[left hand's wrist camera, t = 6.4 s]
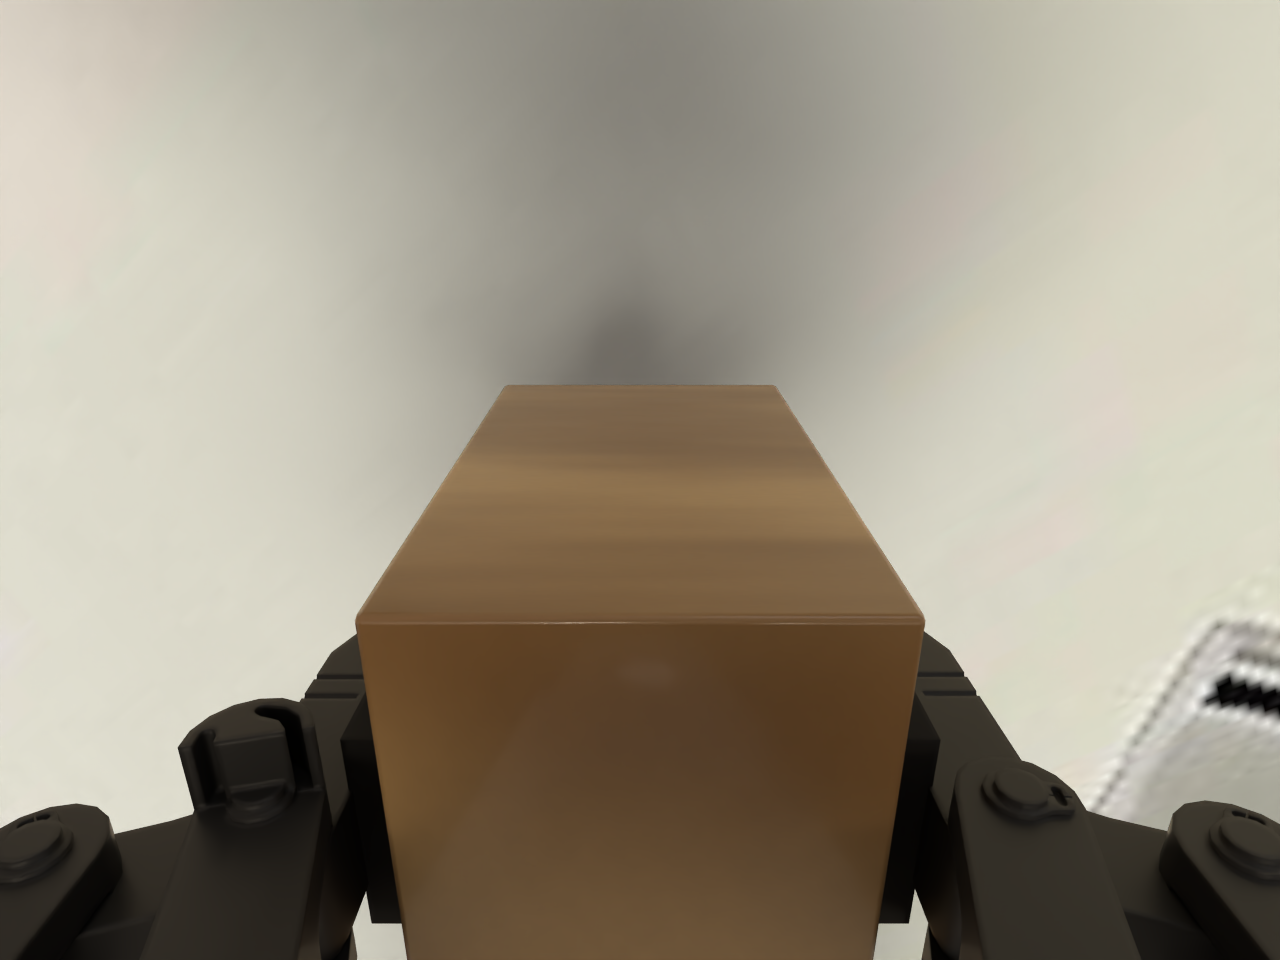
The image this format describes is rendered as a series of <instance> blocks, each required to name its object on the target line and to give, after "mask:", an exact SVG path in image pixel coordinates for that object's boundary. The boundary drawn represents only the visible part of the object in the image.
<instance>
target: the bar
mask: <svg viewBox="0 0 1280 960" xmlns="http://www.w3.org/2000/svg"><path fill="white" fill-rule="evenodd" d="M355 624H356V631H357V637H358V644H359V650H360V657H361V663H362V670H363V676H364V683H365V689H366V695H367V702H368V708H369V715H370V721H371V728H372V734H373V741H374V747H375V754H376V760H377V767H378V773H379V780H380V786H381V793H382V799H383V806H384V812H385V818H386V825H387V831H388V838H389V844H390V851H391V857H392V864H393V870H394V877H395V883H396V890H397V896H398V903H399V909H400V916H401V922H402V929H403V935H404V942H405V948H406V954H407V960H873V956H874V950H875V944H876V937H877V931H878V924H879V918H880V911H881V905H882V898H883V892H884V885H885V879H886V872H887V866H888V860H889V853H890V847H891V840H892V834H893V827H894V821H895V814H896V808H897V801H898V795H899V788H900V782H901V776H902V769H903V763H904V756H905V750H906V743H907V737H908V730H909V724H910V717H911V711H912V704H913V698H914V691H915V685H916V679H917V672H918V666H919V659H920V653H921V646H922V640H923V633H924V627H925V618H924V615H923V613H922V612H921V610H920V609H919V607H918V606H917V604H916V602H915V601H914V599H913V598H912V596H911V595H910V593H909V592H908V590H907V589H906V587H905V585H904V584H903V582H902V581H901V579H900V578H899V576H898V575H897V573H896V572H895V570H894V568H893V567H892V565H891V564H890V562H889V561H888V559H887V558H886V556H885V555H884V553H883V551H882V550H881V548H880V547H879V545H878V544H877V542H876V541H875V539H874V538H873V536H872V534H871V533H870V531H869V530H868V528H867V527H866V525H865V524H864V522H863V521H862V519H861V517H860V516H859V514H858V513H857V511H856V510H855V508H854V507H853V505H852V504H851V502H850V500H849V499H848V497H847V496H846V494H845V493H844V491H843V490H842V488H841V486H840V485H839V483H838V482H837V480H836V479H835V477H834V476H833V474H832V473H831V471H830V469H829V468H828V466H827V465H826V463H825V462H824V460H823V459H822V457H821V456H820V454H819V452H818V451H817V449H816V448H815V446H814V445H813V443H812V442H811V440H810V439H809V437H808V435H807V434H806V432H805V431H804V429H803V428H802V426H801V425H800V423H799V422H798V420H797V418H796V417H795V415H794V414H793V412H792V411H791V409H790V408H789V406H788V405H787V403H786V401H785V400H784V398H783V397H782V395H781V394H780V392H779V391H778V389H777V388H776V386H773V385H507V386H505V387H504V389H503V390H502V392H501V393H500V395H499V396H498V398H497V400H496V401H495V403H494V404H493V406H492V407H491V409H490V410H489V412H488V413H487V415H486V416H485V418H484V420H483V421H482V423H481V424H480V426H479V427H478V429H477V430H476V432H475V433H474V435H473V437H472V438H471V440H470V441H469V443H468V444H467V446H466V447H465V449H464V450H463V452H462V453H461V455H460V457H459V458H458V460H457V461H456V463H455V464H454V466H453V467H452V469H451V470H450V472H449V473H448V475H447V477H446V478H445V480H444V481H443V483H442V484H441V486H440V487H439V489H438V490H437V492H436V493H435V495H434V497H433V498H432V500H431V501H430V503H429V504H428V506H427V507H426V509H425V510H424V512H423V514H422V515H421V517H420V518H419V520H418V521H417V523H416V524H415V526H414V527H413V529H412V530H411V532H410V534H409V535H408V537H407V538H406V540H405V541H404V543H403V544H402V546H401V547H400V549H399V550H398V552H397V554H396V555H395V557H394V558H393V560H392V561H391V563H390V564H389V566H388V567H387V569H386V571H385V572H384V574H383V575H382V577H381V578H380V580H379V581H378V583H377V584H376V586H375V587H374V589H373V591H372V592H371V594H370V595H369V597H368V598H367V600H366V601H365V603H364V604H363V606H362V607H361V609H360V611H359V612H358V614H357V616H356V619H355Z"/></svg>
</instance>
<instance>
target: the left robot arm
mask: <svg viewBox="0 0 1280 960" xmlns="http://www.w3.org/2000/svg"><path fill="white" fill-rule="evenodd" d="M178 751H179V755H180V758H181V762H182V766H183V769H184V773H185V777H186V781H187V784H188V788H189V792H190V795H191V799H192V803H193V807H194V812H193V814H192V815H189V816H186V817H182V818H179V819H176V820H173V821H169V822H164V823H160V824H156V825H152V826H147V827H143V828H139V829H134V830H130V831H126V832H122V833H117V834H114V832H113V829H112V826H111V822H110V819H109V817H108V816H107V815H106V814H105V813H104V812H102V811H101V810H100V809H99V808H98V807H95V806H88V805H82V804H70V805H63V806H55V807H49V808H46V809H43V810H41V811H38V812H35V813H32V814H29V815H26V816H23V817H20V818H18V819H17V820H15V821H13V822H11V823H9V824H8V825H6V826H4V827H2V828H0V960H357V951H356V945H355V938H354V933H353V927H352V926H353V924H354V921H355V918H356V916H357V913H358V911H359V908H360V905H361V903H362V900H363V898H364V895H365V892H366V893H367V899H368V905H369V910H370V916H371V922H372V923H402V922H401V916H400V909H399V903H398V896H397V890H396V883H395V877H394V870H393V864H392V857H391V851H390V844H389V838H388V831H387V825H386V818H385V812H384V806H383V799H382V793H381V786H380V780H379V773H378V767H377V760H376V754H375V747H374V741H373V734H372V728H371V721H370V715H369V708H368V702H367V695H366V689H365V683H364V676H363V670H362V663H361V657H360V650H359V644H358V637H357V634H356V635H354V636H353V637H352V638H350V639H349V640H348V641H346V642H345V643H344V644H342V645H341V646H340V647H338V648H337V649H336V650H334V651H333V652H332V653H331V654H330V656H329V657H328V659H327V660H326V662H325V663H324V665H323V666H322V668H321V670H320V671H319V673H318V674H317V679H314V680H313V682H312V683H311V685H310V686H309V688H308V690H307V691H306V693H305V698H304V699H301V700H300V702H296V701H292V700H288V699H284V698H270V699H257V700H253V701H249V702H245V703H241V704H237V705H233V706H231V707H229V708H227V709H224V710H222V711H220V712H218V713H216V714H214V715H211V716H209V717H208V718H207V719H205V720H204V721H203V722H201V723H200V724H199V725H197V726H196V727H195V728H193V729H192V730H191V731H190V732H189V733H188V734H187V736H186V737H185V738H184V740H183V741H182V742H181V744H180V745H179V747H178ZM914 890H916V892H917V895H918V898H919V900H920V903H921V905H922V908H923V911H924V913H925V916H926V918H927V921H928V927H927V933H926V938H925V944H924V949H923V954H922V960H1280V824H1278V823H1276V822H1275V821H1273V820H1271V819H1269V818H1267V817H1265V816H1264V815H1262V814H1259V813H1256V812H1253V811H1250V810H1247V809H1244V808H1242V807H1239V806H1236V805H1233V804H1227V803H1220V802H1212V801H1199V802H1193V803H1187V804H1184V805H1183V806H1182V807H1180V808H1179V809H1178V810H1177V811H1176V812H1175V813H1173V815H1172V818H1171V822H1170V825H1169V828H1168V831H1164V830H1160V829H1155V828H1151V827H1147V826H1142V825H1138V824H1134V823H1130V822H1125V821H1121V820H1117V819H1112V818H1108V817H1105V816H1102V815H1099V814H1095V813H1092V812H1089V811H1086V809H1085V807H1084V805H1083V804H1082V802H1081V801H1080V799H1079V798H1078V796H1077V794H1076V793H1075V791H1074V790H1072V789H1071V788H1070V787H1069V786H1068V785H1066V784H1065V783H1064V782H1063V781H1062V780H1061V779H1059V778H1058V777H1057V776H1056V775H1054V774H1052V773H1050V772H1048V771H1046V770H1044V769H1042V768H1040V767H1038V766H1036V765H1034V764H1032V763H1029V762H1025V761H1022V760H1021V759H1020V757H1019V756H1018V754H1017V753H1016V751H1015V750H1014V748H1013V747H1012V745H1011V744H1010V742H1009V741H1008V739H1007V737H1006V736H1005V734H1004V733H1003V731H1002V730H1001V728H1000V727H999V725H998V724H997V722H996V721H995V719H994V718H993V716H992V714H991V713H990V711H989V710H988V708H987V707H986V705H985V704H984V702H983V701H982V699H981V698H980V696H977V695H976V690H975V688H974V687H973V685H972V684H971V682H970V681H969V679H968V678H967V677H964V672H963V670H962V669H961V667H960V665H959V664H958V662H957V661H956V659H955V658H954V656H953V655H952V653H951V652H950V650H949V649H947V648H946V647H945V646H943V645H942V644H941V643H939V642H938V641H936V640H935V639H934V638H932V637H931V636H930V635H928V634H927V633H926V632H924V633H923V640H922V646H921V653H920V659H919V666H918V672H917V679H916V685H915V691H914V698H913V704H912V711H911V717H910V724H909V730H908V737H907V743H906V750H905V756H904V763H903V769H902V776H901V782H900V788H899V795H898V801H897V808H896V814H895V821H894V827H893V834H892V840H891V847H890V853H889V860H888V866H887V872H886V879H885V885H884V892H883V898H882V905H881V911H880V918H879V923H909V919H910V913H911V908H912V902H913V896H914Z"/></svg>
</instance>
